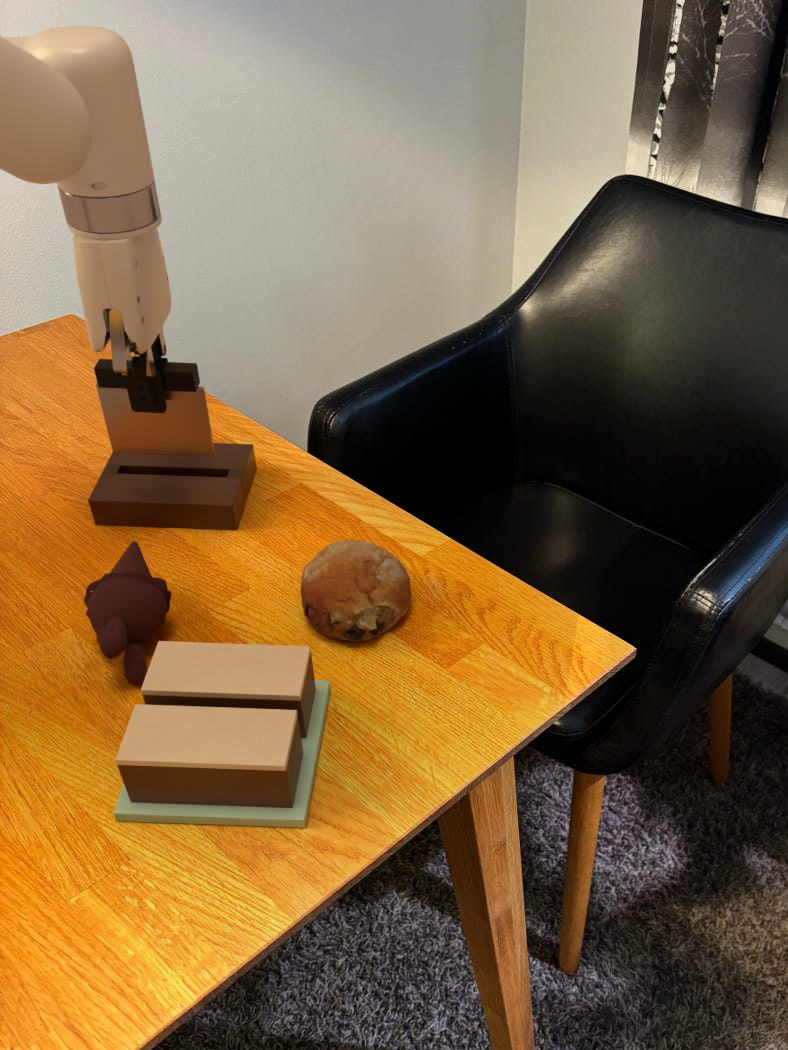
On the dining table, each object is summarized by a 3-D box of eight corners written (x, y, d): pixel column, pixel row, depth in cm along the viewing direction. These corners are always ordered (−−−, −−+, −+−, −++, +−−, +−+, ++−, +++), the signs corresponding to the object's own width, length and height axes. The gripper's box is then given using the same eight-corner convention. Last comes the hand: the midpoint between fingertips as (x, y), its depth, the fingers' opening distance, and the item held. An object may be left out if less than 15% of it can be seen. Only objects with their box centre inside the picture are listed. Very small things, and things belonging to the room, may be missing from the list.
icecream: (75, 526, 88) (55, 656, 79) (154, 504, 88) (143, 632, 78) (114, 577, 94) (99, 705, 84) (189, 557, 93) (182, 683, 83)
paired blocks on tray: (116, 821, 74) (96, 770, 70) (163, 682, 84) (148, 631, 80) (305, 828, 74) (297, 778, 70) (330, 688, 84) (324, 637, 80)
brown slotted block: (95, 525, 99) (87, 500, 96) (125, 463, 106) (118, 439, 104) (237, 530, 99) (232, 505, 96) (257, 468, 106) (253, 444, 104)
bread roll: (418, 619, 95) (425, 538, 93) (393, 655, 86) (400, 565, 83) (317, 605, 96) (321, 524, 94) (282, 639, 87) (285, 549, 84)
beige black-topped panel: (110, 456, 98) (87, 367, 91) (116, 446, 99) (94, 358, 92) (213, 461, 98) (197, 373, 91) (217, 451, 99) (202, 363, 92)
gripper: (94, 168, 88) (136, 361, 100) (31, 241, 76) (88, 448, 89) (180, 172, 88) (211, 364, 100) (130, 245, 76) (172, 452, 89)
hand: (153, 402), depth 94 cm, fingers closed on beige black-topped panel, 1 cm apart
